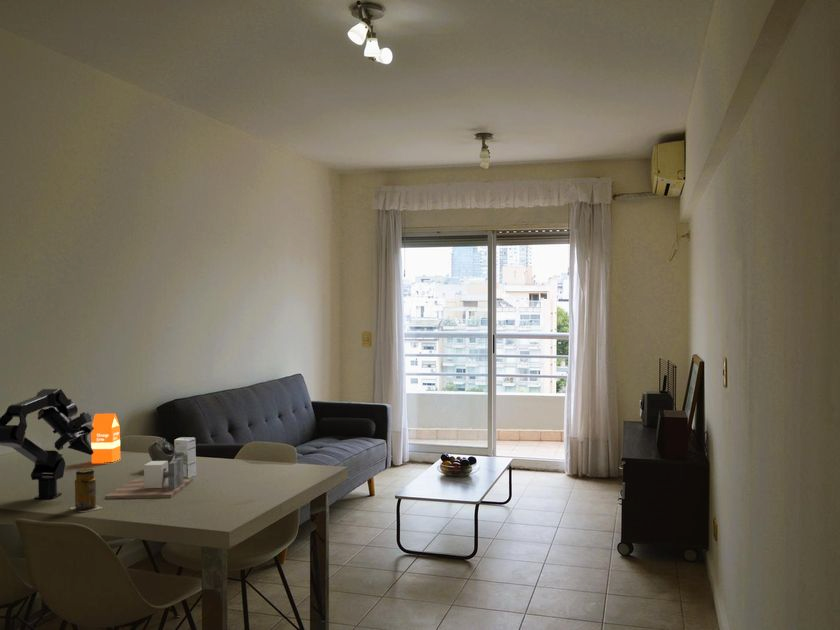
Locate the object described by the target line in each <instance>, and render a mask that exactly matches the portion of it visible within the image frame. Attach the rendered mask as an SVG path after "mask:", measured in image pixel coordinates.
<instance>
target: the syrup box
mask: <svg viewBox="0 0 840 630" xmlns="http://www.w3.org/2000/svg"><path fill="white" fill-rule="evenodd" d="M173 446H174V450H175V455H174V460H175V459H176V458H183V479H191V478H193V477H195V476H197V459H196V456H197V453H196V450H197V448H196V437H187V436H186V437H185V436H183V437H182V436H181V437H178V438H176V439H174V445H173Z"/></svg>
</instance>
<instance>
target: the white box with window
mask: <svg viewBox="0 0 840 630" xmlns="http://www.w3.org/2000/svg"><path fill="white" fill-rule="evenodd" d="M163 471H168V461H152V460H151V461H149V462H147V463H145V464H144V465H143V479H144V488H163V487H164V486H165V485H167V484H168V478H164V474H163Z"/></svg>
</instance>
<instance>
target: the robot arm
mask: <svg viewBox="0 0 840 630" xmlns="http://www.w3.org/2000/svg"><path fill="white" fill-rule="evenodd" d="M47 407H48V408H47ZM78 410H79V409H78V407H77V405H76V404H75V403H74V402H72V398H68V397H67V396H66V393H65V392H64V391H63V389H62V388H43V389H41V390H40V391H38V392H37V393H36V395H35V396H33V397H30V398H28V399H26V400H22V401H20V402H17V403H15V404H11V405H9V406H8V407H7V409H6V410H5V412H4V413H3V415H2V416H0V446H4V447H6V448H7V447H8V448H11V449H13V450H15V451H16V452H18V453H20V454H21V455H22V456H23V457H25V458H26V459H28V460H30V461H31V462H32V463H34V466H33V469H32V471H31V474H30V477H31V480H32V481H34V480H35V481H37V482H38V483H37V484H38V485H37V486H38V487H37V489H38V490H37V491H38V495H36V496H35V497H33V499H34V500H47V499H48V500H50V499H51V500H52V499H55V498H57V497H59V496H61V495H62V492H58V480H60V479H62V478H64V474H65V467H66V460H65V458H64V457H63V454H60V453H59V452H58V451H62V450H63V449H64V446H65V444H67V443H68V444H69V445H68V447H67V449H71V450H74V451H78V452H81V453H84V454H87V455H89V456H92V454H93V453H94V452H93V450H92V448H91V445H90V443H89V442H90V441H89V440H88V436H89V435H90V434H91V432H92V431H93V429H94V427H93V426H92V424H88V423H91V422H93V420H92V414H90V412H87V411H83V412H81V413H80V414H79V416H76V415H77V414H78ZM36 411H37V420H39V421H40V420H43V421H44V422H45V423H46V424H47V425H49V426H50V427H51V428H52V429H53V431H52V433H54V434H58V435H59V438H58V439H57V440H56V441H55V442H54V448H55V449H56V450H55V449H54V450H53V449H52V450H49V449H48V450H47V449H46V450H44V449H43V448H41V447H40V446H39V445H38V444H36V443H35V442H33V441H32V440H30V438H28V437H26V431H27V427H28V422H27V419H26V418H27V417H28V416H27V415H30V414H32V413H35V412H36ZM75 416H76V417H75ZM74 417H75V418H74ZM13 418H18V419H19V423H18V424H12V425H11V424H9V423H10V422H11V421H12V420H13Z"/></svg>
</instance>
